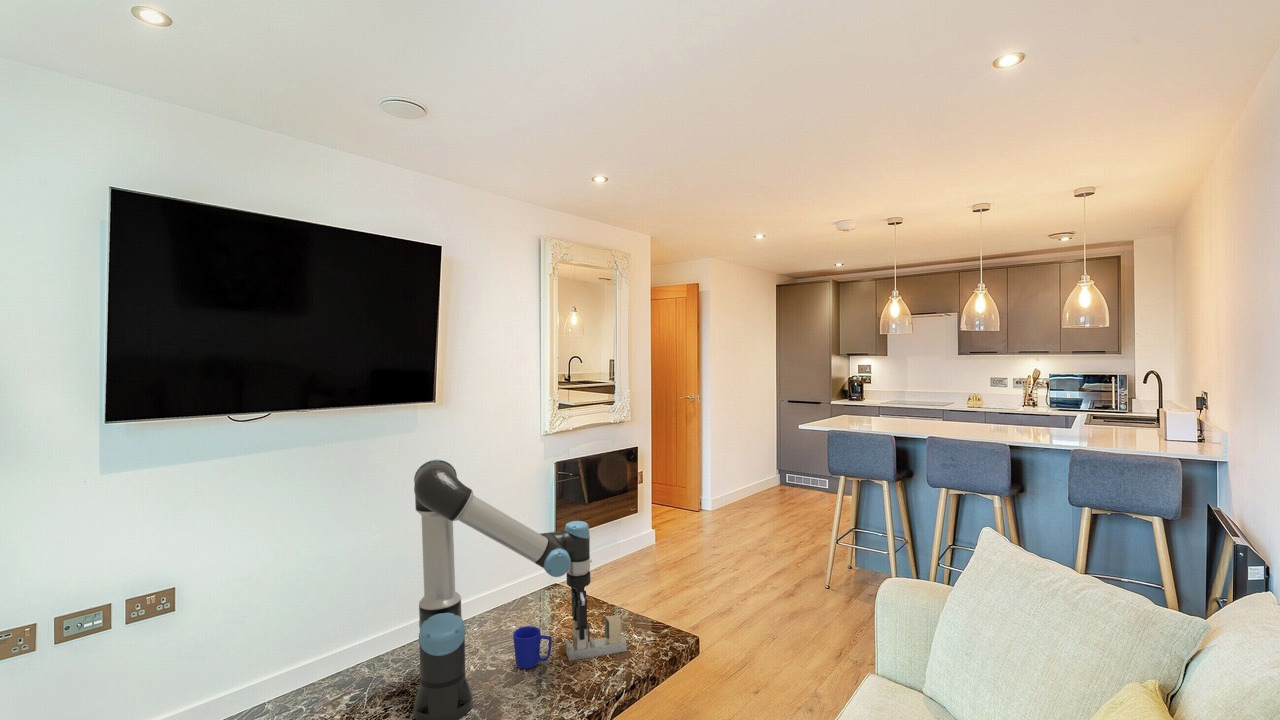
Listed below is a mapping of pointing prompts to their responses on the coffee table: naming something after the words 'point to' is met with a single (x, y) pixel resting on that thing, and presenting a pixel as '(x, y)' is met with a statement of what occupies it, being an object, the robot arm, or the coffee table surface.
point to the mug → (529, 646)
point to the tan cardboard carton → (576, 635)
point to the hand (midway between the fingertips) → (580, 644)
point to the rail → (601, 642)
